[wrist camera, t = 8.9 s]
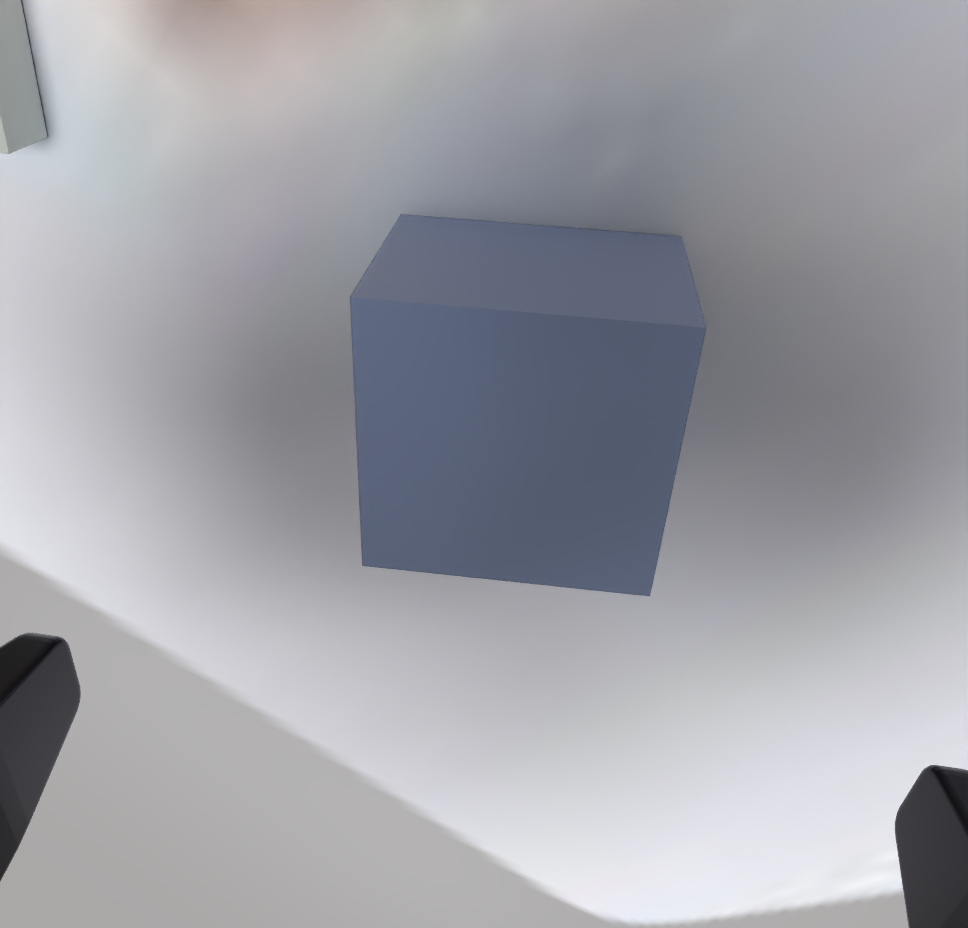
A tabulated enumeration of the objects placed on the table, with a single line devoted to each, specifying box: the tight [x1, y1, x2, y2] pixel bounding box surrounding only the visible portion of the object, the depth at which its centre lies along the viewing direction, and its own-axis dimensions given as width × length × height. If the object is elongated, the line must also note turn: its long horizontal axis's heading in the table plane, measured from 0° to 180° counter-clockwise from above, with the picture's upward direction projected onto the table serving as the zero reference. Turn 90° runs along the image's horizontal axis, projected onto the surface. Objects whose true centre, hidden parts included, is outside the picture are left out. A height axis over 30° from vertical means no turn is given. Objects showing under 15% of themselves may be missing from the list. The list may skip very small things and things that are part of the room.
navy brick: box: [350, 214, 706, 596], centre depth 15 cm, size 5×5×4 cm
